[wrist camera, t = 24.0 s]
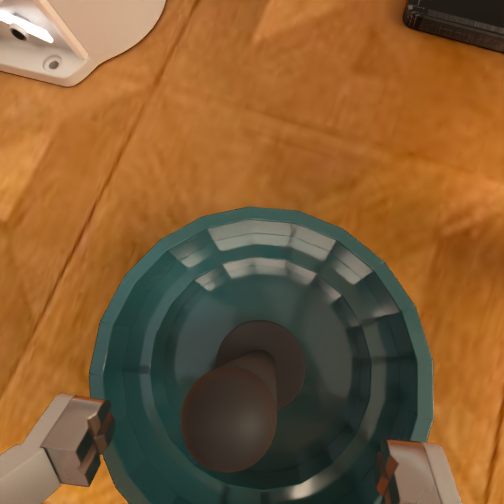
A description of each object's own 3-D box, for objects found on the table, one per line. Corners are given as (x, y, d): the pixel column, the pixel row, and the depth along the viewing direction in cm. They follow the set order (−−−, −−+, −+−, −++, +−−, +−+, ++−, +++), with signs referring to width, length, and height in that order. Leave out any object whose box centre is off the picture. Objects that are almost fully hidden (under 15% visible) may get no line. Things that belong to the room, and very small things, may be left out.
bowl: (109, 487, 23) (53, 537, 17) (158, 227, 27) (126, 195, 21) (391, 532, 21) (435, 604, 15) (396, 249, 25) (432, 221, 19)
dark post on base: (217, 399, 23) (30, 589, 5) (227, 318, 24) (103, 257, 7) (298, 410, 22) (381, 656, 5) (304, 327, 24) (388, 286, 6)
